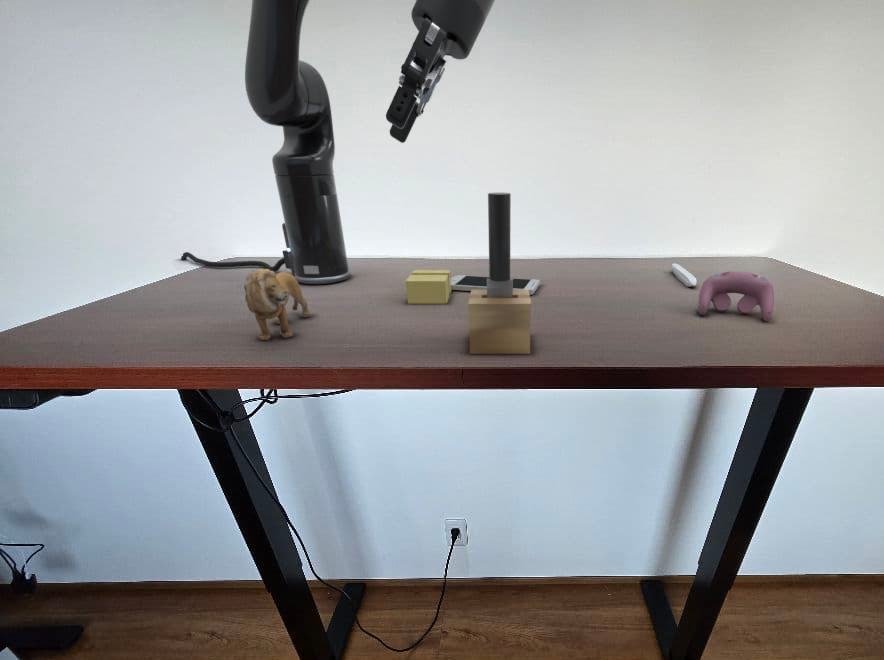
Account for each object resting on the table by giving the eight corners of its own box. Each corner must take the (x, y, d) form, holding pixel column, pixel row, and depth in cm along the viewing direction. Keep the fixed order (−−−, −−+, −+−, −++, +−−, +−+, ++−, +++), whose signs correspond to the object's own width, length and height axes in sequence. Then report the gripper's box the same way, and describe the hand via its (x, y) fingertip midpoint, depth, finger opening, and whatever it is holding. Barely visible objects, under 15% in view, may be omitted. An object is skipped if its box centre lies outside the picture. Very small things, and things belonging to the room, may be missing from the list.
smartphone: (456, 279, 87) (455, 274, 87) (539, 284, 84) (540, 279, 84) (442, 289, 81) (442, 283, 80) (532, 295, 78) (532, 289, 77)
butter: (407, 303, 74) (405, 281, 72) (415, 291, 80) (413, 270, 79) (446, 303, 74) (445, 281, 72) (451, 291, 81) (450, 270, 79)
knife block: (470, 353, 56) (468, 303, 53) (473, 336, 61) (471, 289, 58) (529, 353, 56) (531, 303, 53) (527, 336, 61) (528, 289, 58)
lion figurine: (298, 347, 58) (281, 271, 53) (250, 350, 57) (229, 274, 52) (313, 311, 70) (301, 248, 66) (274, 313, 69) (259, 249, 65)
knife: (487, 348, 58) (484, 194, 50) (488, 341, 60) (485, 192, 52) (512, 348, 58) (513, 194, 50) (512, 341, 60) (513, 192, 52)
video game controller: (766, 326, 70) (774, 277, 69) (773, 320, 65) (782, 269, 65) (694, 318, 72) (702, 272, 72) (697, 313, 68) (705, 264, 68)
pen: (675, 270, 94) (676, 261, 94) (697, 289, 82) (699, 279, 81) (667, 270, 94) (668, 261, 94) (688, 288, 82) (690, 279, 81)
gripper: (426, 4, 61) (370, 126, 64) (430, -63, 48) (359, 96, 51) (478, 43, 63) (421, 159, 66) (495, -10, 50) (423, 138, 53)
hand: (394, 132), depth 58 cm, fingers open, 8 cm apart
